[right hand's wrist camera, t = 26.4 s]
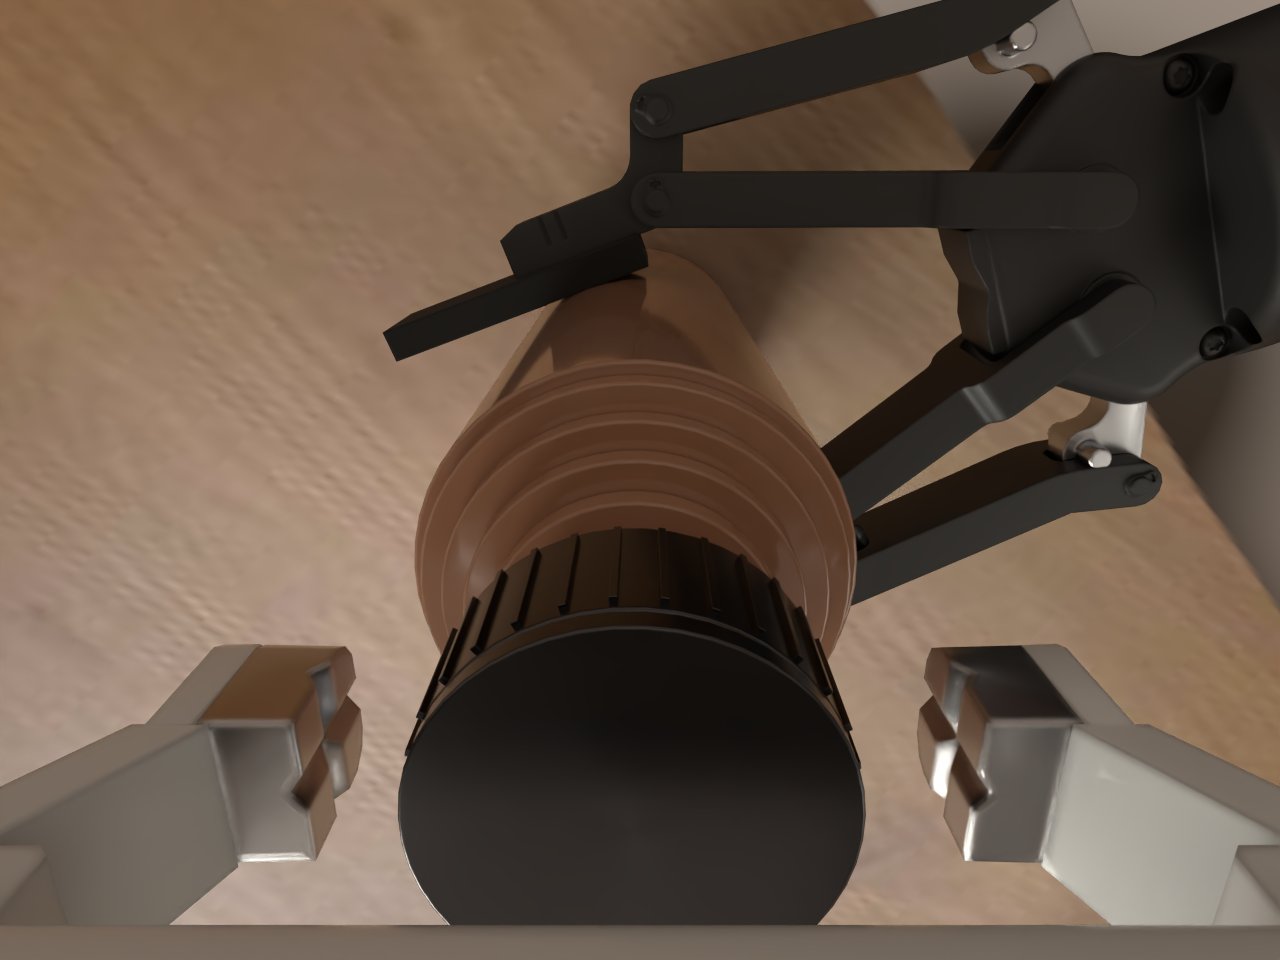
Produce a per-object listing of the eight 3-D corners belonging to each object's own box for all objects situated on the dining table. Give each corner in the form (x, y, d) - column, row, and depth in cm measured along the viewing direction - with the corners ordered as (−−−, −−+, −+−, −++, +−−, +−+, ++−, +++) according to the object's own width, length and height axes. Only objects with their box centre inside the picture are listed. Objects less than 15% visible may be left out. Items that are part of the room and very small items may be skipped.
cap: (895, 738, 10) (956, 880, 8) (588, 898, 11) (576, 1060, 9) (690, 444, 9) (705, 525, 7) (361, 653, 10) (290, 779, 8)
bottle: (760, 268, 27) (1060, 535, 8) (717, 463, 29) (863, 1043, 10) (552, 230, 27) (313, 412, 7) (526, 431, 29) (293, 970, 10)
